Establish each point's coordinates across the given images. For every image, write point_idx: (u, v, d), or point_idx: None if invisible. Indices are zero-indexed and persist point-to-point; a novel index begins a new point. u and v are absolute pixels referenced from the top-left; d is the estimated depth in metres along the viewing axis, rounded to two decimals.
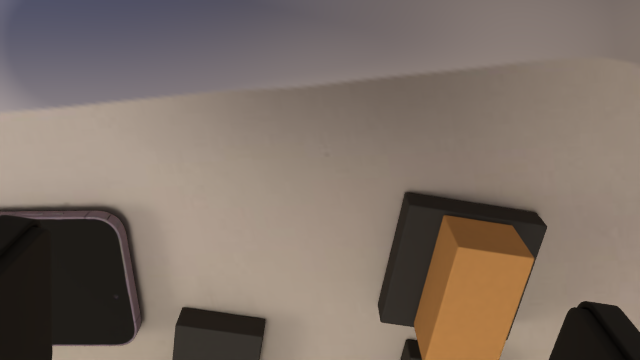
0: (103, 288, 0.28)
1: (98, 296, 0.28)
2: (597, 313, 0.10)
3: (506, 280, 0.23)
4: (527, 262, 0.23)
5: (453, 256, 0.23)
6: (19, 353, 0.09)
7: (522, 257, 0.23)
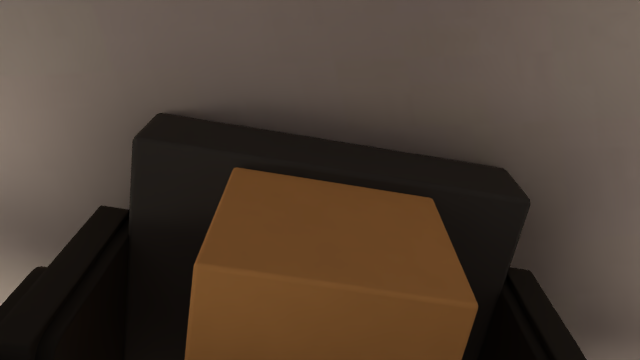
0: None
1: None
2: (508, 276, 0.10)
3: None
4: (453, 319, 0.06)
5: (192, 296, 0.07)
6: (118, 332, 0.10)
7: (433, 301, 0.06)
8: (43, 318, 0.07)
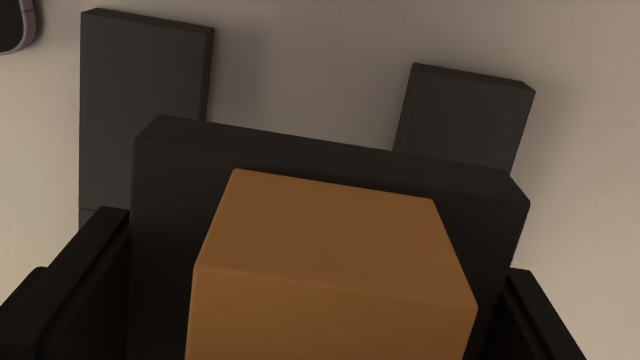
0: None
1: None
2: (508, 276, 0.10)
3: None
4: (453, 320, 0.06)
5: (193, 297, 0.07)
6: (119, 332, 0.10)
7: (433, 303, 0.06)
8: (44, 318, 0.07)
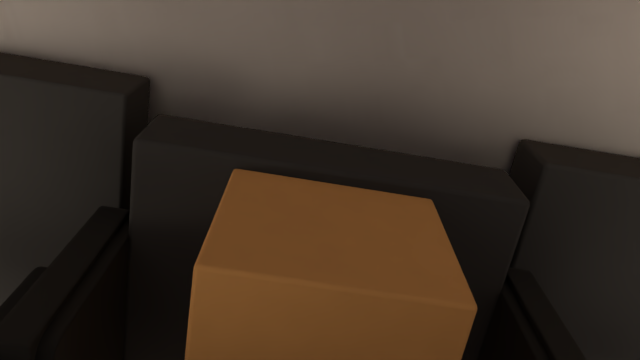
0: None
1: None
2: (508, 276, 0.10)
3: None
4: (453, 320, 0.06)
5: (193, 297, 0.07)
6: (118, 332, 0.10)
7: (433, 304, 0.06)
8: (43, 318, 0.07)
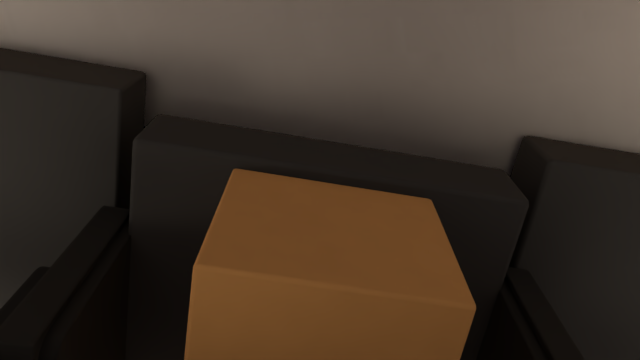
0: None
1: None
2: (506, 275, 0.10)
3: None
4: (452, 319, 0.06)
5: (191, 296, 0.07)
6: (121, 332, 0.10)
7: (432, 303, 0.06)
8: (47, 318, 0.07)
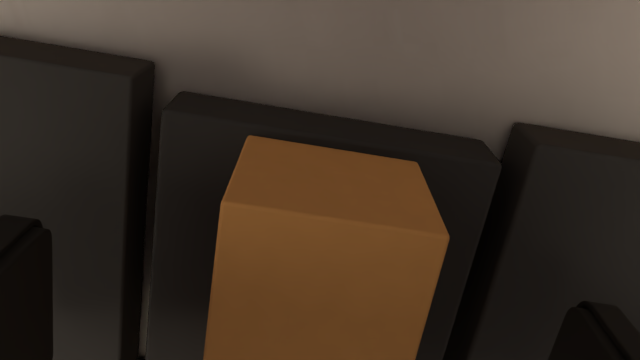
0: None
1: None
2: (596, 313, 0.10)
3: (373, 298, 0.08)
4: (429, 248, 0.08)
5: (218, 230, 0.08)
6: (20, 353, 0.09)
7: (413, 233, 0.08)
8: None
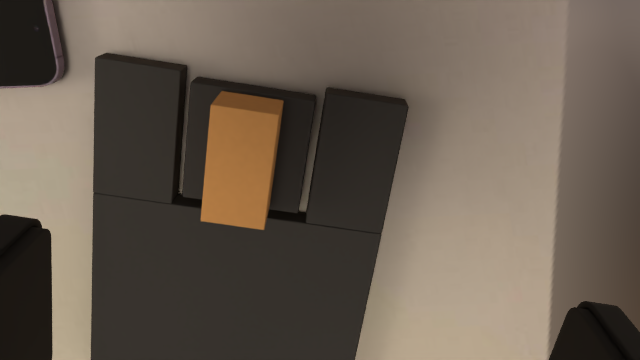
0: (23, 18, 0.28)
1: (19, 28, 0.29)
2: (597, 313, 0.10)
3: (258, 136, 0.27)
4: (273, 118, 0.27)
5: (210, 115, 0.27)
6: (19, 353, 0.09)
7: (268, 114, 0.27)
8: None
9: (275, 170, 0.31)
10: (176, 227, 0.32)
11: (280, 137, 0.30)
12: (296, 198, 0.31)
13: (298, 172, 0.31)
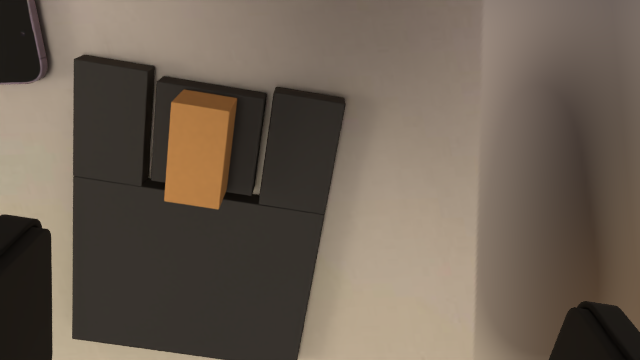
0: (11, 25, 0.33)
1: (7, 33, 0.33)
2: (597, 313, 0.10)
3: (211, 129, 0.32)
4: (224, 114, 0.31)
5: (171, 110, 0.32)
6: (19, 353, 0.09)
7: (220, 110, 0.31)
8: None
9: (231, 158, 0.35)
10: (146, 206, 0.37)
11: (235, 130, 0.35)
12: (250, 182, 0.36)
13: (251, 160, 0.36)
